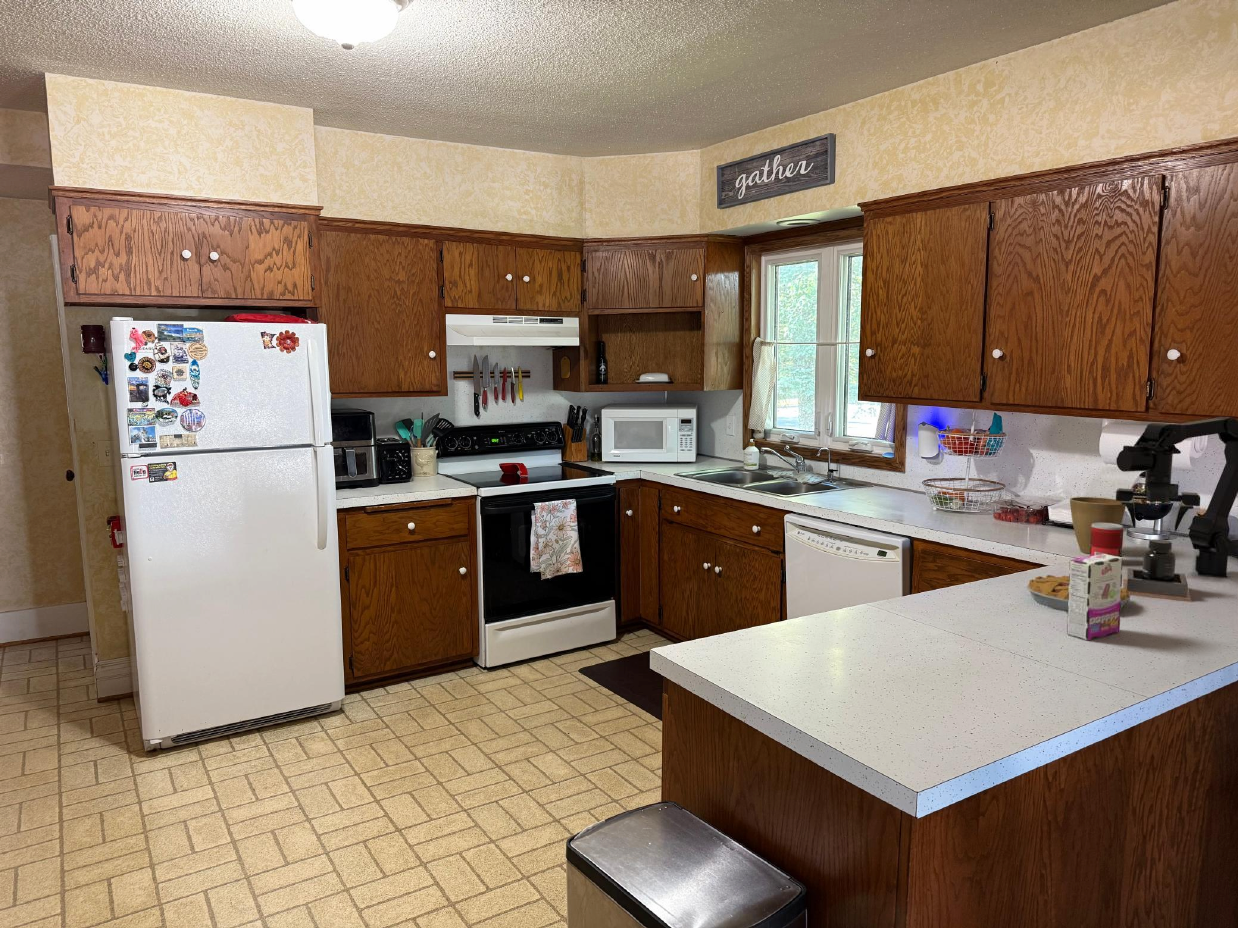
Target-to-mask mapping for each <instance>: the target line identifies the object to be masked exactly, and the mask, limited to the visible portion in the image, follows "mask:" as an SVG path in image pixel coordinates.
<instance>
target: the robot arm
mask: <svg viewBox="0 0 1238 928" xmlns="http://www.w3.org/2000/svg"><path fill="white" fill-rule="evenodd" d="M1210 435H1218V436H1217V437H1218V439H1219V440H1220V441H1221V442H1222V443H1223V444H1224V449H1223V454H1224V458H1225V463H1224V464H1225V465H1224V467H1223V470H1222V472H1221V474H1220V476H1219V480H1218V482H1217V484H1216V486H1215V488H1214V492H1213V494H1212V496H1211V498H1210V501H1209V504H1208V506H1207V508H1206V510H1205V511H1204V513H1203V514H1201V515H1194V516H1193V517H1192V520H1191V524H1190V525H1189V527H1188V528H1187V529H1188V530H1189V531H1188V537H1189V539H1190V542H1191V545H1192V548H1193V550H1198V554H1196V555H1195V560H1194V561H1195V563H1194V564H1195V565H1194V570H1195V572H1196V573H1197V575H1198V576H1208V577H1215V578H1224V577H1225V578H1226V579H1227V578H1229V577H1228V574H1227V573H1228V572H1227V571H1228V561H1229V560H1228V559H1229V557H1230V556H1234V555H1235V553H1236V551H1237V546H1236V545H1235V543H1233V541H1232V540H1231V539H1230V538H1229V534H1230V531H1231V530H1230V524H1229V519H1228V518H1229V515H1230V512H1231V510H1232V508H1233V506H1234V503H1235V501H1236V499H1237V496H1238V419H1236V418H1234V417H1229V416H1227V417H1226V416H1217V417H1215V418H1209V419H1202V420H1196V421H1195V420H1194V421H1189V422H1180V423H1171V422H1170V423H1167V422H1165V423H1164V422H1150V423H1149V424H1147V425H1146V427H1145V429H1144V431H1143V432H1142V434H1141V435H1140V437H1139V438H1138V439H1137V441H1136V442H1135V444H1134V445H1123V448H1122V450H1121V451H1119V453H1118V454H1117V456H1116V462H1115V463H1116V465H1117V468H1118V470H1119V471H1121V472H1124V473H1125V472H1127V473H1128V472H1145V479H1144V492H1140V491H1139V492H1138V491H1134V489H1133V488H1121V487H1120V488H1117V489H1116V491H1115V499H1116V501H1121V504H1125V505H1126V509H1127V511H1128V513H1129V517H1130V519H1131V524H1132V526H1133V528H1134V529H1136V525H1137V523H1136V512H1135V501H1134V500H1144V501H1147V502H1149V503H1154V502H1156V503H1157V502H1158V503H1163V504H1164V503H1169V502H1176V503H1177V502H1179V503H1178V506H1177V507H1178V508H1177V512H1176V517H1175V522H1174V530H1173V531H1174V532H1177V531H1178V528H1179V526H1180V524H1181V522H1182V520H1183V518H1184V516H1185V515H1186V513H1187V512H1188V511H1189V510H1193V509H1194V507H1200V506H1201V496H1200V494H1199V493H1197V492H1189V491H1188V492H1187V491H1181V494H1179V486H1180V485H1179V483H1172V473H1173V470H1172V469H1173V457H1174V455H1179V454H1182V451H1181V450H1180V449H1178V448H1177V446H1176V445H1177V444H1180V443H1182V442H1184V441H1185V440H1187V439H1192V438H1198V437H1204V436H1210Z"/></svg>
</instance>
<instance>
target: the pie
mask: <svg viewBox="0 0 1238 928" xmlns="http://www.w3.org/2000/svg"><path fill="white" fill-rule="evenodd" d="M1026 589H1027V590H1028V591H1029V592H1030V594H1031V596H1032V597H1031V598H1032V600H1034V602H1035V603H1036V602H1037V603H1036V604H1038V603H1039V604H1038V605H1041V606H1043V605H1044V607H1046V606H1047V608H1050V609H1055V610H1060V611H1064V612H1068V599H1069V575H1063V576H1055V575H1051V574H1047V575H1046V576H1045V577H1043V576H1036V577H1035V578H1034V579H1029V582H1028V584H1027V586H1026ZM1130 598H1131V595H1130V594H1129V593H1128V590H1127V589H1124V588H1123V587H1122V588H1121V609H1120V611H1121V610H1122V608H1124V606H1125V604H1126V603H1127V602H1129V601H1130V600H1131V599H1130Z"/></svg>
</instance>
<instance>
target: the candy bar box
mask: <svg viewBox="0 0 1238 928" xmlns="http://www.w3.org/2000/svg"><path fill="white" fill-rule="evenodd" d="M1123 559H1124V558H1123V556H1122V557H1117V556H1113V555H1108V554H1099V555H1093V556H1090V555H1089V556H1084V557H1078V558H1073V559H1070V560H1069V571H1068V572H1069V575H1068V576H1069V599H1068V611H1067V625H1066V629H1067V630H1066V634H1067V635H1068V636H1070V637H1073V638H1077V639H1080V640H1084V641H1091V640H1095V639H1099V638H1103V637H1107V636H1110V635H1114V634H1118V633H1121V631H1120V630H1121V629H1120V626H1121V610H1122V609H1121V588H1123V565H1124V564H1123V561H1124V560H1123ZM1120 609H1121V610H1120Z"/></svg>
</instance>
